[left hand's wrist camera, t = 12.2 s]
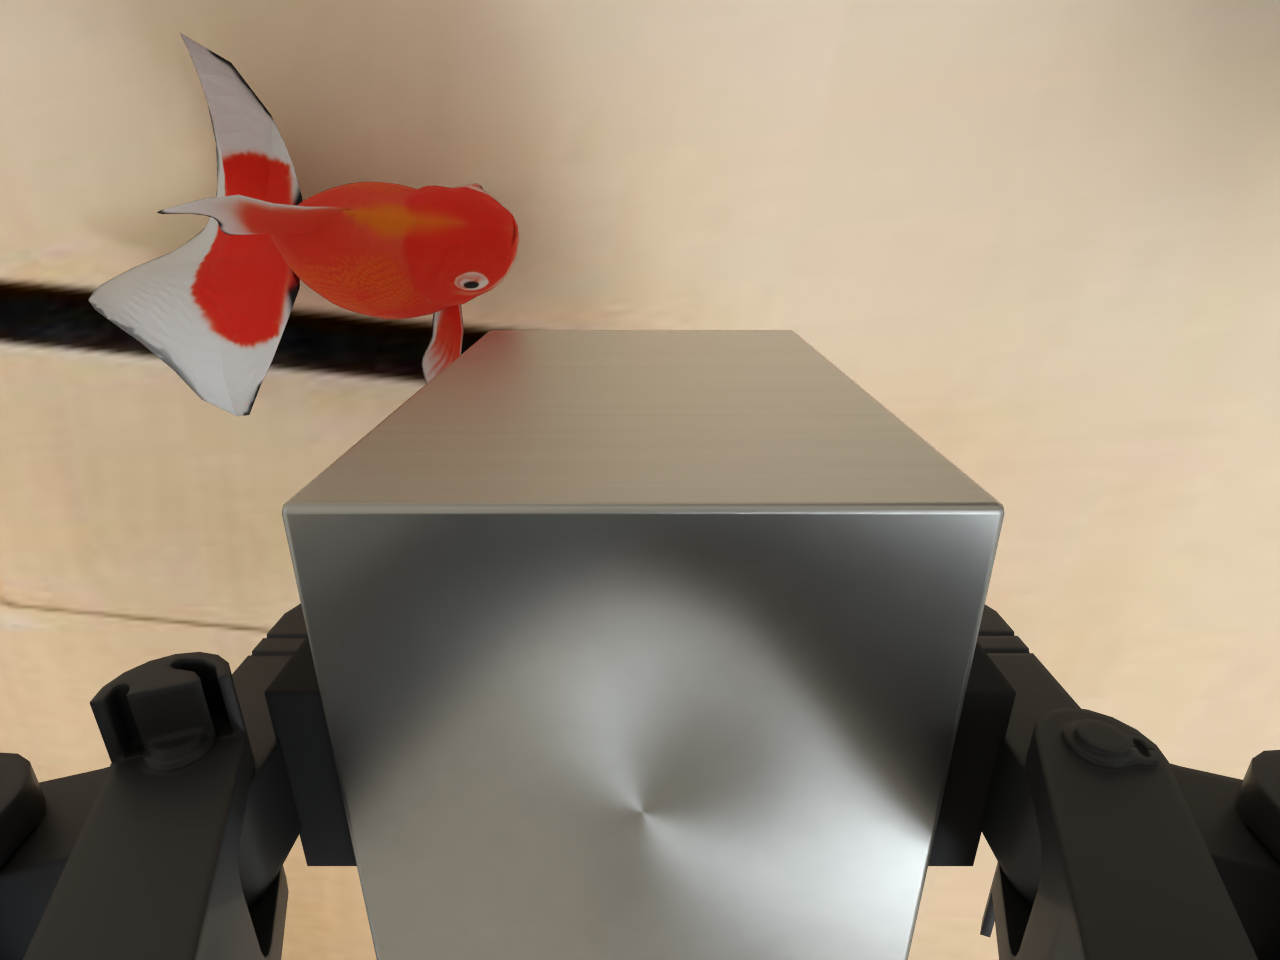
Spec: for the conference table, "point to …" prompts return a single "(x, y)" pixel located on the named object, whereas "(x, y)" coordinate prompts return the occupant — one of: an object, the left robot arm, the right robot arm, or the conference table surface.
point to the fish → (300, 255)
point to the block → (642, 651)
